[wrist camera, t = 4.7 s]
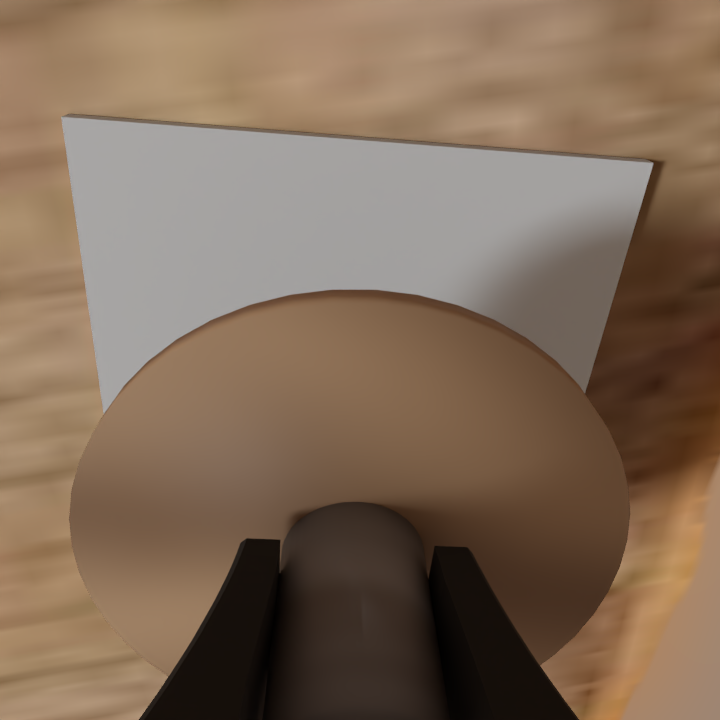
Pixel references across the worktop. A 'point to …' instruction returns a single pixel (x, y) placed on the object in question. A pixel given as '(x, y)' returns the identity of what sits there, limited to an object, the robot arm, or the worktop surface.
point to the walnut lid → (349, 492)
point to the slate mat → (339, 230)
